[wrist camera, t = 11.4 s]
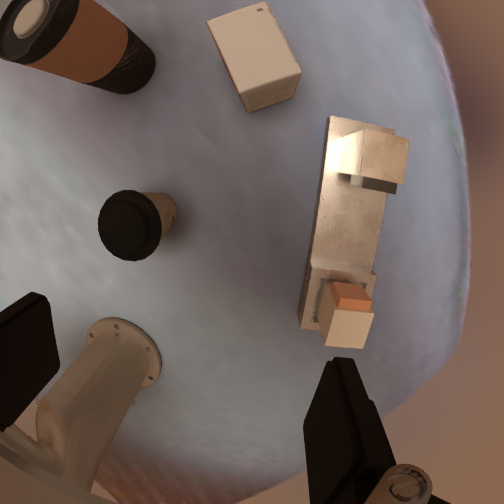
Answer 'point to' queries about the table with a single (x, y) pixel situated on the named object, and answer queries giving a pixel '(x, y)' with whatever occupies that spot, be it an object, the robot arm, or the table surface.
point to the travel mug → (75, 43)
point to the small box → (256, 56)
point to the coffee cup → (135, 223)
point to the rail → (350, 207)
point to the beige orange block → (343, 313)
